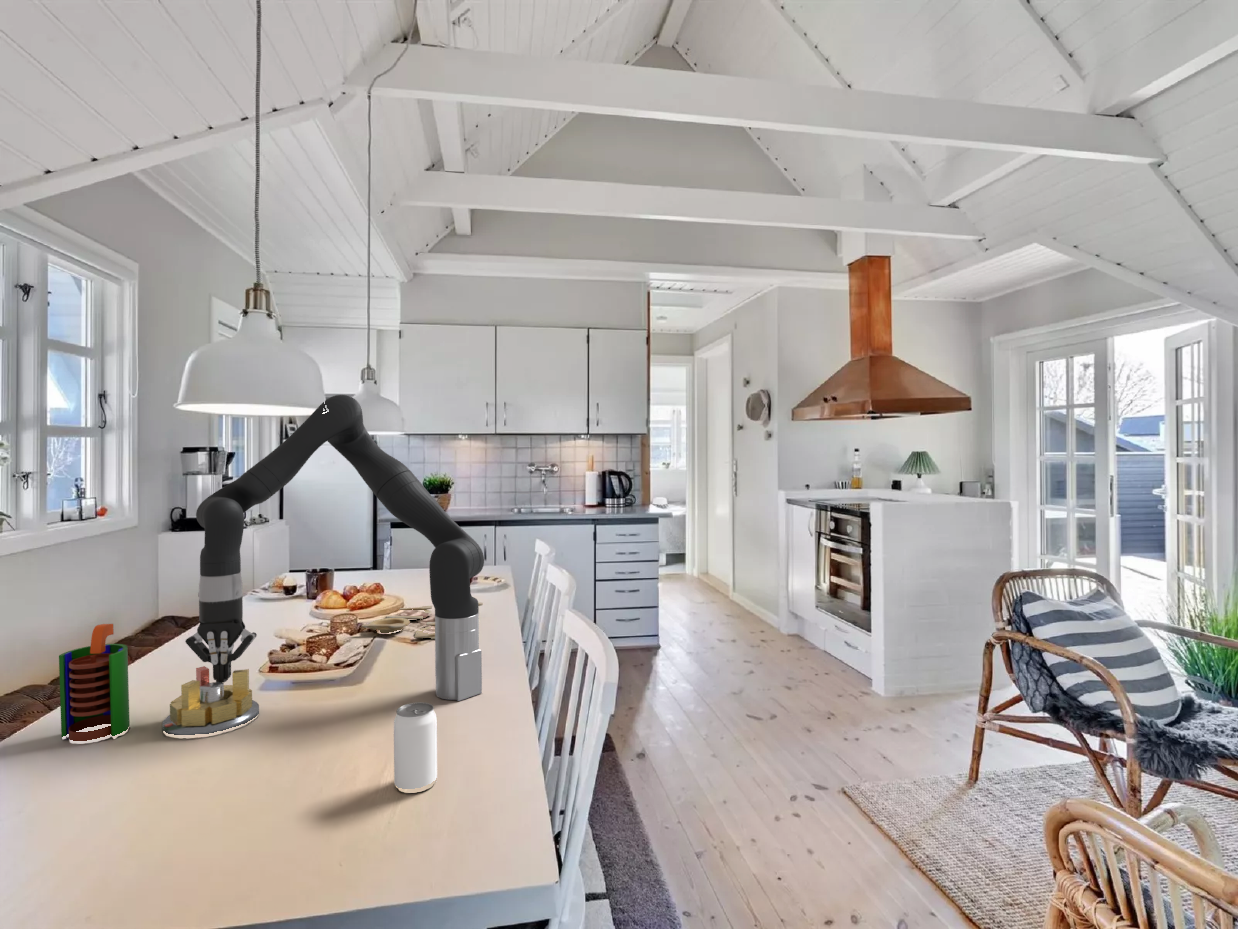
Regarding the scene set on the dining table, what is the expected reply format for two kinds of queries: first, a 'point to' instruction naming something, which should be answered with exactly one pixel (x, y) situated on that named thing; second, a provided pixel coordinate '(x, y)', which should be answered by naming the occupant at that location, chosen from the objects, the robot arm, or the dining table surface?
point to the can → (415, 745)
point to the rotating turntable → (209, 695)
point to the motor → (94, 688)
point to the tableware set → (402, 623)
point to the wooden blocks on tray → (197, 714)
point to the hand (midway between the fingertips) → (222, 681)
